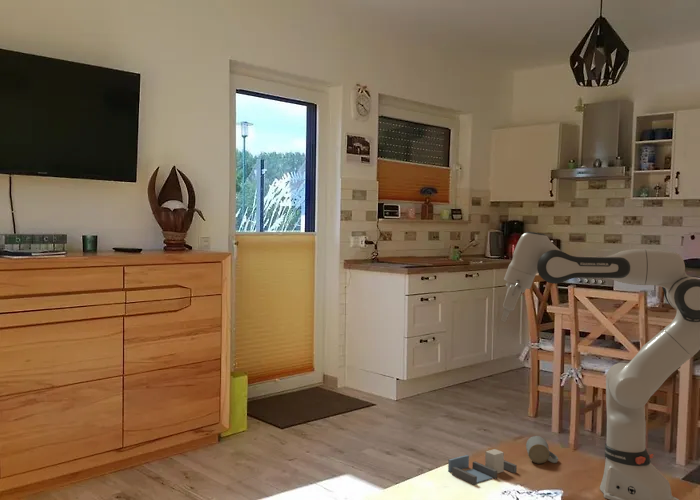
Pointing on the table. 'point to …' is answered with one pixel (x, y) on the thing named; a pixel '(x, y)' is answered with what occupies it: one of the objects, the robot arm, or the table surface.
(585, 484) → the table surface
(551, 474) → the table surface
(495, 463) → the cord plug
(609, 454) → the robot arm
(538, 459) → the ceramic mug
